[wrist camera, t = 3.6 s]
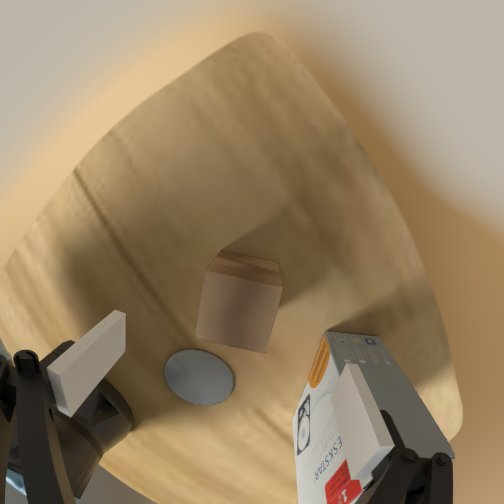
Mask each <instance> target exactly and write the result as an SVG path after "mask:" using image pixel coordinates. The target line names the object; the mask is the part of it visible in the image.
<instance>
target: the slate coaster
mask: <svg viewBox="0 0 504 504" xmlns="http://www.w3.org/2000/svg"><path fill="white" fill-rule="evenodd" d="M164 377H165V380H166V383H167V385H168V386H169V388H170V389H171V390H172V391H173V392H174V393H175V394H176V395H177V396H179V397H180V398H182V399H184V400H186V401H188V402H190V403H194V404H198V405H213V404H217V403H220V402H222V401H223V400H225V399H226V398H227V397H228V396H229V395H230V393H231V392H232V389H233V383H234V380H233V375H232V372H231V370H230V369H229V367H228V366H227V365H226V364H225V363H224V362H223V361H222V360H221V359H220V358H218V357H217V356H215V355H213V354H211V353H208V352H205V351H202V350H195V349H188V350H183V351H179V352H177V353H175V354H173V355H172V356H171V357H170V358H169V359H168V361H167V363H166V365H165V368H164Z"/></svg>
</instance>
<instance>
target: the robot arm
mask: <svg viewBox="0 0 504 504" xmlns="http://www.w3.org/2000/svg"><path fill="white" fill-rule="evenodd" d="M125 334H126V313H123V312H120V311H117V310H114V311H113V312H112V313H110V314H109V315H108V316H107V317H105V318H104V319H103V320H102V321H101V322H99V323H98V324H97V325H96V326H95V327H93V328H92V329H91V330H90V331H89V332H87V333H86V334H85V335H84V336H83V337H81V338H80V339H79V340H78V341H77V342H74V341H72V340H69V341H66V342H64V343H62V344H61V345H59V346H58V347H57V349H54V350H53V351H52V353H50V354H48V355H47V356H46V357H45V358H44V359H42V360H41V361H40V362H39V359H38V355H37V354H36V353H35V352H33V351H31V350H21V351H18V352H17V353H16V354H15V355H14V357H13V360H14V362H13V360H12V356H11V354H10V353H9V352H8V351H7V349H6V348H5V346H4V344H3V342H2V340H1V338H0V504H5V485H6V481H7V482H9V483H10V484H11V485H12V486H14V487H15V488H16V489H18V490H19V491H20V492H22V493H23V494H25V495H26V496H27V500H28V504H77V502H79V501H80V498H81V496H82V494H83V492H84V490H85V488H86V486H87V484H88V482H89V480H90V479H91V477H92V475H93V473H94V471H95V469H96V467H97V465H98V463H99V461H100V460H101V458H102V456H103V455H104V453H105V452H107V451H108V450H109V449H111V448H112V447H113V446H115V445H116V444H117V443H119V442H120V441H121V440H123V439H124V438H125V437H126V436H127V435H128V433H129V431H130V429H131V427H132V425H133V417H132V413H131V411H130V408H129V407H128V405H127V403H126V402H125V400H124V399H123V398H122V396H121V395H120V394H119V393H118V392H117V391H116V390H115V389H114V388H113V387H112V386H111V385H110V384H109V383H108V382H106V381H105V380H104V379H103V377H104V376H105V375H106V374H107V372H108V371H109V370H110V369H111V368H112V367H113V365H114V364H115V363H116V362H117V361H118V359H119V358H120V357H121V356H122V355H123V353H124V352H125V351H126V344H125ZM14 363H15V364H14ZM330 398H331V402H332V405H333V409H334V413H335V417H336V421H337V424H338V428H339V432H340V436H341V440H342V444H343V448H344V452H345V456H346V460H347V464H348V468H349V473H350V477H351V480H358V479H365V478H366V477H367V476H368V475H369V474H370V473H372V476H373V479H372V480H371V481H370V482H369V483H368V484H367V485H366V486H365V487H363V488H362V489H364V491H363V492H362V494H361V495H360V497H359V498H358V499H357V501H356V502H355V504H453V465H452V459H451V458H450V456H449V455H447V454H446V453H443V452H438V453H435V454H434V455H433V456H432V457H431V458H422V457H419V456H418V454H417V453H416V452H415V451H414V450H412V449H410V448H406V447H405V445H404V443H403V440H402V438H401V436H400V434H399V432H398V430H397V427H396V425H395V424H394V421H393V419H392V417H391V415H390V414H389V413H388V412H387V411H386V410H379V409H378V406H377V404H376V402H375V400H374V398H373V396H372V393H371V391H370V389H369V387H368V385H367V383H366V381H365V378H364V376H363V374H362V372H361V370H360V368H359V366H358V364H351V363H346V365H345V367H344V369H343V372H342V374H341V376H340V378H339V380H338V382H337V384H336V386H335V388H334V390H333V392H332V394H331V396H330Z"/></svg>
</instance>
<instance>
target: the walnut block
mask: <svg viewBox="0 0 504 504" xmlns="http://www.w3.org/2000/svg"><path fill="white" fill-rule="evenodd" d="M282 291H283V283H282V278H281V273H280V268H279V264H278V263H277V262H273V261H268V260H264V259H260V258H255V257H251V256H246V255H242V254H237V253H233V252H228V251H224V250H221V251H220V252H219V254H218V255H217V256H216V257H215V259H214V260H213V261H212V263H211V264H210V265H209V266H208V268H207V269H206V271H205V277H204V282H203V288H202V294H201V300H200V306H199V312H198V318H197V324H196V331H195V338H198V339H202V340H206V341H210V342H215V343H219V344H223V345H227V346H232V347H236V348H241V349H246V350H251V351H255V352H261V353H265V352H266V348H267V345H268V341H269V338H270V334H271V331H272V327H273V324H274V320H275V317H276V313H277V310H278V306H279V302H280V299H281V295H282Z"/></svg>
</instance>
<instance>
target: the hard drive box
mask: <svg viewBox="0 0 504 504" xmlns="http://www.w3.org/2000/svg"><path fill="white" fill-rule="evenodd" d="M346 363H351V364H358V366H359V368H360V370H361V372H362V374H363V376H364V378H365V381H366V383H367V385H368V387H369V389H370V391H371V393H372V396H373V398H374V400H375V402H376V404H377V406H378V409H379V410H386V411H387V412H388V413H389V414H390V415H391V417H392V419H393V421H394V424H395V425H396V427H397V430H398V432H399V434H400V436H401V438H402V440H403V443H404V445H405V447H406V448H410V449H412V450H414V451H415V452H416V453H417V454H418V456H419V457H422V458H431V457H432V456H433V455H434V454H435V453H438V452H443V453H446V454H447V455H449V456H450V458H451V459H452V461H453V460H454V459H455V457H454V455H455V454H454V452H453V450H452V448H451V446H450V444H449V443H448V441H447V439H446V438H445V436H444V435H443V433H442V431H441V430H440V428H439V427H438V425H437V424H436V422H435V420H434V419H433V417H432V415H431V414H430V412H429V411H428V409H427V407H426V406H425V404H424V403H423V401H422V399H421V398H420V397H419V395H418V393H417V392H416V390H415V389H414V387H413V386H412V384H411V383H410V381H409V380H408V378H407V377H406V376H405V374H404V373H403V371H402V370H401V368H400V367H399V365H398V364H397V362H396V361H395V359H394V358H393V356H392V355H391V353H390V352H389V350H388V349H387V348H386V346H385V345H384V343H383V342H382V340H381V339H380V338H379V337H378V336H368V335H358V334H348V333H339V332H330V331H326V332H325V334H324V336H323V339H322V342H321V345H320V348H319V351H318V353H317V356H316V359H315V362H314V365H313V368H312V371H311V374H310V376H309V379H308V382H307V384H306V387H305V389H304V392H303V394H302V397H301V399H300V401H299V404H298V406H297V409H296V412H295V414H294V417H293V419H292V425H293V436H294V449H295V461H296V474H297V489H298V504H355V502H356V501H357V499H358V498H359V497H360V495H361V494H362V492H363V491H364V489H362V488H363V487H365V486H366V485H367V484H368V483H369V482H370V481H371V480H372V479H373V476H372V473H370V474H369V475H368V476H367V477H366V478H365V479H358V480H351V477H350V473H349V468H348V464H347V460H346V456H345V452H344V448H343V444H342V440H341V436H340V432H339V428H338V424H337V421H336V417H335V413H334V409H333V405H332V402H331V398H330V396H331V394H332V392H333V390H334V388H335V386H336V384H337V382H338V380H339V378H340V376H341V374H342V372H343V369H344V367H345V365H346Z"/></svg>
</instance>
